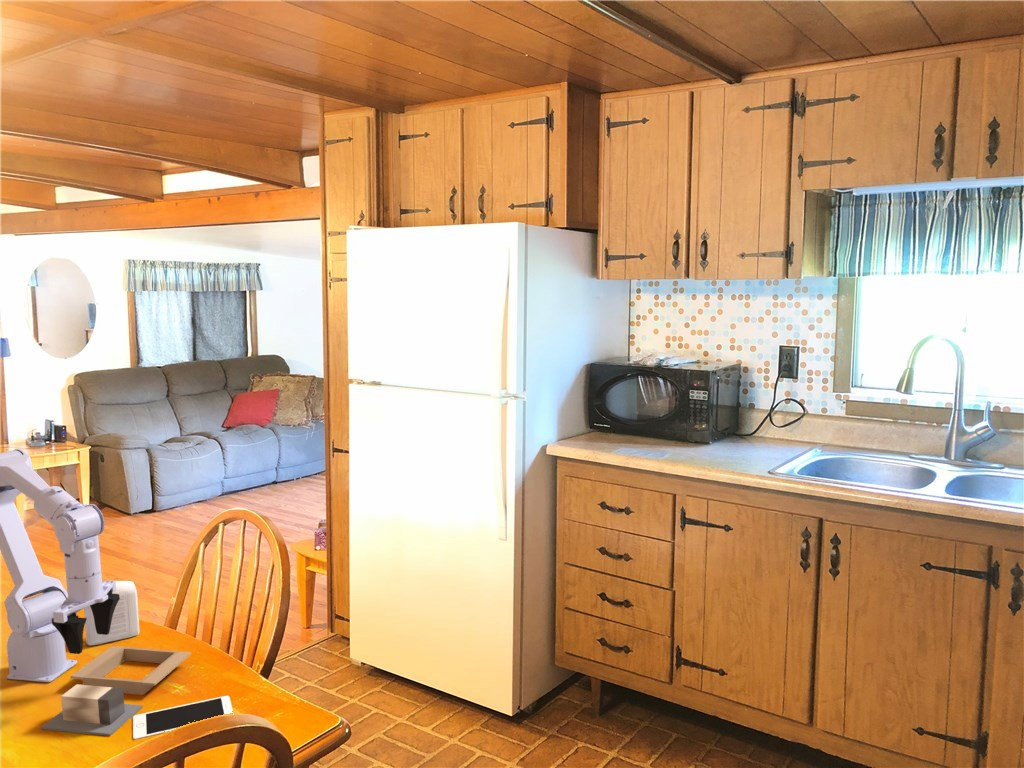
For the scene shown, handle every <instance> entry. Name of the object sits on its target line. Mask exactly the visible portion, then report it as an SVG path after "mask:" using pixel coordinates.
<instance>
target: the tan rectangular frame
mask: <svg viewBox="0 0 1024 768" xmlns="http://www.w3.org/2000/svg"><path fill="white" fill-rule="evenodd" d="M191 655H192V651H191V652H190V651H177V650H166V649H153V648H140V647H128V646H117V645H111V647H109V648H108V649H107V650H105V651H103V652H102V653H101V654H99V655H97V657H95V658H94V659H92V660H91V661H89V662H88V663H87V664H85V665H84V666H83V667H81V668H80V669H79V670H77V671H76V672H74V673H73V674H72V675H70V679H73V680H74V679H75V680H82V685H90V686H101V687H113V688H123V694H125V695H127V694H128V695H137V696H144V695H145V694H147V692H149V691H150V690H151V689H152V688H154V687H155V686H156V685H157V684H158V683H160V681H162V680H163V679H164V678H166V676H167V675H169V674H170V673H171V672H172V671H173V670H175V669H176V668H177V667H179V665H180V664H182V663H183V662H184V661H185V660H186V659H187V658H188V657H190V656H191ZM125 661H130V662H143V663H151V664H152V663H153V664H154V663H155V664H159V665H158V666H157V667H156V668H154V669H153V670H152V671H150V673H148V674H147V675H146V676H145V677H144V678H142V679H141V680H139V679H130V678H128V679H127V678H117V677H116V678H115V677H106V676H107V675H108V674H110V673H111V672H112V671H113V670H114V668H115V669H116V668H117V667H118V665H119V666H120V665H122V664H123V662H125ZM105 675H106V676H105Z"/></svg>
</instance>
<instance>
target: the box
mask: <svg viewBox="0 0 1024 768" xmlns="http://www.w3.org/2000/svg"><path fill="white" fill-rule="evenodd" d="M60 697H61V711H63V720H66V721H77V722H87V723H98V724H108V725H111V724H112V723H113V722H114V721H115V720H116V719H118V718H119V717H120V716H121V715H122V714H123V713H125V707H124V704H125V697H124V693H123V688H113V687H101V686H90V685H83V684H78V683H77V684H75V685H74V686H72V688H70V689H68V690H67V691H66V692H64V693H63V694H62V695H61V696H60Z"/></svg>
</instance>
